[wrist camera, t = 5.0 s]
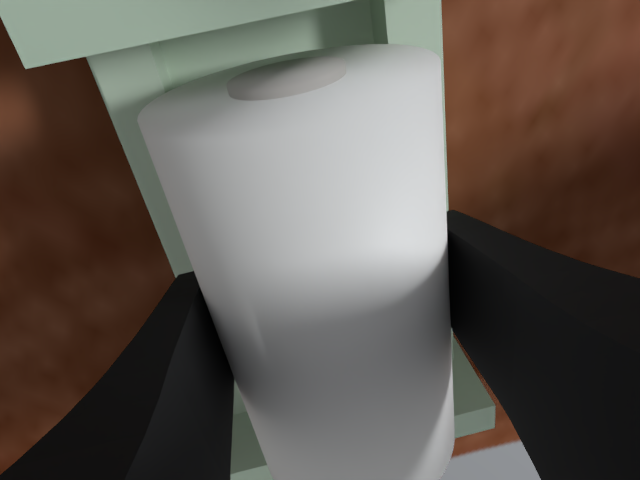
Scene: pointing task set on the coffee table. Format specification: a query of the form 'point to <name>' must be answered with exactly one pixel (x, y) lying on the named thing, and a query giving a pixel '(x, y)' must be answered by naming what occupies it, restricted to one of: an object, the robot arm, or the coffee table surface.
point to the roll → (322, 251)
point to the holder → (207, 58)
